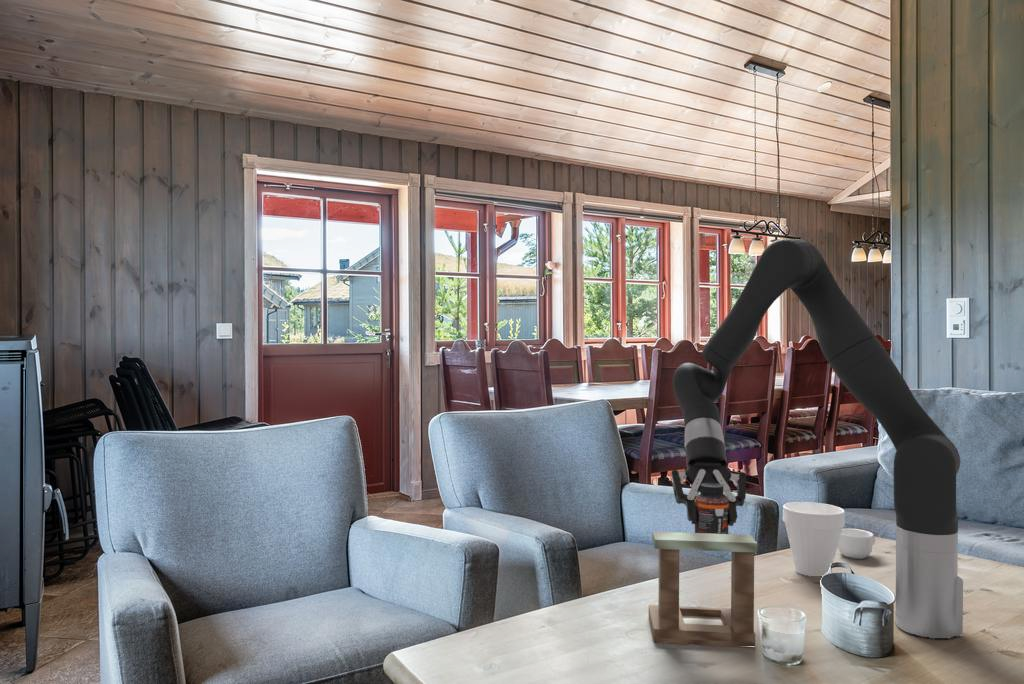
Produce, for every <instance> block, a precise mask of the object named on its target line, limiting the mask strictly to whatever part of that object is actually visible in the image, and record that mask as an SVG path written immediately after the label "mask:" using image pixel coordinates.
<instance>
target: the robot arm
mask: <svg viewBox="0 0 1024 684" xmlns="http://www.w3.org/2000/svg"><path fill="white" fill-rule="evenodd" d="M788 289H791V291H792V292H793V293H794V295H796V297H797V299H798V300H799V301H800V302H801V304H802V305H803V307H804V308H805V309H806V311H807V312H808V313H809V316H810V318H811V321H812V323H813V326H814V329H815V334H816V337H817V341H818V344H819V346H820V347H819V348H820V350H821V352H822V354H823V357H824V358H825V359H826V361H827V362H828V364H829V366H830V368H831V369H832V370H833V372H834V373H835V374H836V376H837V378H838V379H839V380H840V382H841V383H842V385H843V386H844V387H845V388H846V389H847V390H848V391H849V392H850V393H851V395H852V396H853V397H854V398H855V399H856V400H857V401H858V402H859V403H860V404H861V405H863V407H865V409H867V411H869V412H870V413H871V414H872V415H873V417H875V419H876V420H877V421H878V422H879V424H880V425H881V426H882V428H883V430H884V431H885V433H886V435H887V436H888V438H889V440H890V442H891V444H892V445H893V447H894V449H895V450H896V451H895V454H894V458H893V508H894V512H895V524H896V525H895V531H896V532H895V610H894V612H895V613H894V614H895V626H896V627H898V629H900V630H902V631H904V632H906V633H908V634H911V635H914V634H915V636H919V637H922V638H923V637H924V638H927V637H929V638H928V639H935V638H948V639H950V638H949V637H953V636H956V637H960V636H959V635H963V633H964V580H963V578H962V577H961V576H959V575H958V574H959V573H958V570H959V568H958V567H959V566H958V564H959V563H958V562H959V560H958V559H959V558H958V557H959V553H958V551H959V549H958V546H959V540H958V539H959V517H958V509H957V474H958V473H959V470H960V467H961V456H960V453H959V451H958V449H957V446H956V445H955V444H954V443H953V442H952V441H951V439H950V437H948V436H947V434H945V433H944V432H943V430H942V429H941V428H940V427H939V426H938V424H936V423H935V421H934V420H933V419H932V418H931V417H930V415H929V414H928V413H927V412H926V411H925V410H924V408H923V407H922V406H921V404H920V402H918V400H917V399H916V397H915V396H914V394H913V393H912V391H911V389H910V387H909V385H908V384H907V382H906V380H905V378H904V377H903V375H902V374H901V371H900V370H899V369H898V367H897V366H896V364H895V363H894V361H893V359H892V358H891V356H890V355H889V353H888V351H887V350H886V348H885V347H884V346H883V345H882V343H881V341H879V339H878V337H877V336H876V334H874V332H873V331H872V330H871V328H870V327H869V326H868V324H867V323H866V321H865V320H864V318H862V316H861V315H860V313H859V312H858V310H857V309H856V308H855V306H854V305H853V304H852V303H851V301H850V300H849V299H848V298H847V297H846V294H844V292H843V291H842V289H841V288H840V286H839V285H838V282H837V281H836V279H835V277H834V275H833V274H832V271H831V270H830V267H829V266H828V264H827V262H826V261H825V259H824V257H823V255H822V254H821V251H820V250H819V249H818V247H816V246H815V245H814V244H813V243H811V242H810V241H807V240H805V239H801V238H800V239H799V238H781V239H777V240H775V241H773V242H771V243H770V244H768V245H767V246H766V247H765V249H764V250H763V251H762V253H761V255H760V257H759V258H758V260H757V263H756V264H755V266H754V268H753V270H752V272H751V274H750V276H749V278H748V280H747V282H746V284H745V286H744V288H743V289H742V291H741V293H740V294H739V297H738V298H737V300H736V302H735V303H734V305H733V306H732V308H731V309H730V311H729V313H728V314H727V315H726V316H725V318H724V320H723V321H722V322H721V323H720V325H719V327H717V329H716V330H715V332H714V333H713V335H711V337H710V338H709V340H708V341H707V342H706V344H705V345H704V347H703V349H702V351H701V352H702V356H703V359H704V360H705V361H706V362H707V363H708V364H709V365H710V366H711V367H712V369H711V370H710V369H708V368H705V367H702V366H701V365H698V364H696V363H693V362H684V363H682V364H680V365H679V366H678V367H676V369H675V371H674V373H673V376H672V387H673V392H674V395H675V399H677V400H676V401H677V402H678V405H679V407H680V410H681V411H682V413H683V422H684V424H683V425H684V445H683V446H684V449H685V461H686V470H685V471H678V469H673V470H672V471H671V475H670V481H671V485H672V490H673V491H672V492H673V494H674V499H675V502H676V503H677V504H679V505H680V504H683V505H685V507H686V518H687V520H688V521H689V522H691V525H695V524H696V506H695V499H696V497H697V496H698V495H700V494H701V493H702V492H701V490H700V489H701V484H702V483H718V484H722V485H723V491H724V492H723V494H724V496H725V497H726V498H727V499H728V501H729V518H728V527H734V524H736V523H737V519H738V510H737V507H743V506H744V504H745V500H746V496H747V495H746V494H747V491H746V490H747V487H746V486H747V474H746V472H744V471H741V472H740V473H739V474H738V473H733V472H731V471H730V469H729V467H728V462H727V454H726V453H727V451H726V446H725V439H724V438H725V437H724V433H723V430H722V424H721V418H720V410H719V407H718V405H717V404H716V403H715V402H717V401H718V400H719V399H720V398H721V397H722V395H723V393H724V391H725V389H726V386H727V382H728V380H729V378H730V375H731V374H732V370H733V368H734V367H735V365H736V363H738V361H739V360H740V359H741V357H742V356H743V354H744V353H745V352H746V351H747V350H748V348H749V347H750V345H751V343H753V341H754V338H755V337H756V335H757V332H758V330H759V328H760V326H761V322H762V321H763V319H764V317H765V315H766V313H767V312H768V310H769V309H770V307H771V306H772V305H773V304H774V303H775V301H776V300H777V299H778V298H779V297H780V296H781V295H782V294H784V292H786V291H787V290H788ZM684 480H686V481H687V482H688V483H689V484H690V485H691V487H690V489H689V492H688V494H686V493H684V490H683V486H682V484H683V483H684ZM730 481H732V482H733V485H734V486H735V487H736V491H737V493H736V496H735V495H734V493H733V492H732V491H731V488H730V486H729V484H728V483H730ZM963 636H964V635H963ZM953 638H954V637H953Z"/></svg>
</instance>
